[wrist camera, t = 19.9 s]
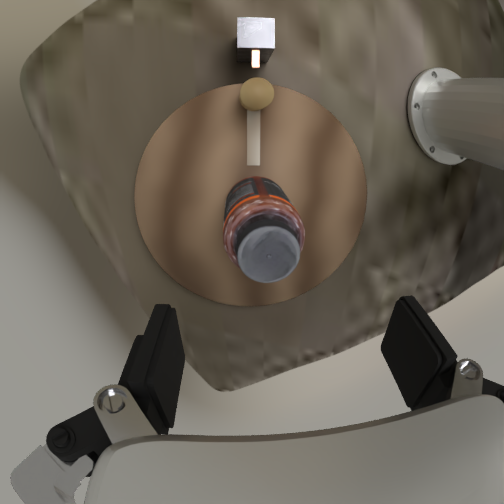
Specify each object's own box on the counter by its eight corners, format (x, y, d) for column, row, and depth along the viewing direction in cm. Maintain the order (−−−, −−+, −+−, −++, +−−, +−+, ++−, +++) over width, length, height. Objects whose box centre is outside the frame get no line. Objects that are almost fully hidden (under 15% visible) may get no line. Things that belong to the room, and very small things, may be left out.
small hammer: (267, 37, 23) (274, 18, 17) (267, 77, 25) (274, 66, 19) (237, 36, 22) (237, 17, 17) (236, 77, 25) (237, 65, 19)
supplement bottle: (215, 218, 28) (204, 277, 18) (241, 164, 26) (244, 192, 16) (269, 241, 30) (286, 307, 19) (296, 191, 27) (332, 234, 17)
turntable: (366, 96, 25) (396, 92, 19) (344, 292, 35) (361, 323, 30) (134, 94, 24) (109, 88, 18) (155, 297, 34) (143, 330, 28)
